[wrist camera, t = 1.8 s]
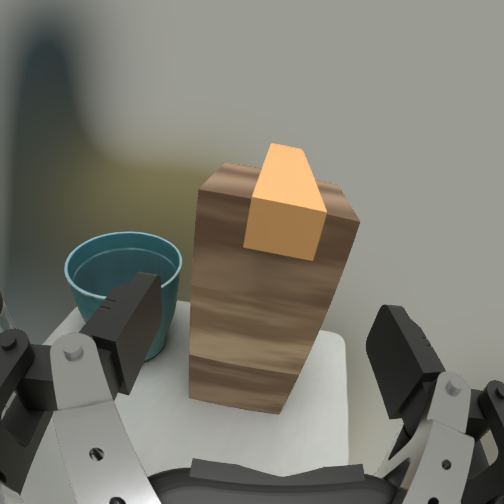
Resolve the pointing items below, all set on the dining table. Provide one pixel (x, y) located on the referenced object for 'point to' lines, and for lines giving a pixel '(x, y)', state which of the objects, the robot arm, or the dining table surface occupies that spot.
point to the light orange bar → (285, 206)
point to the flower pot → (124, 272)
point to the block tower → (257, 296)
